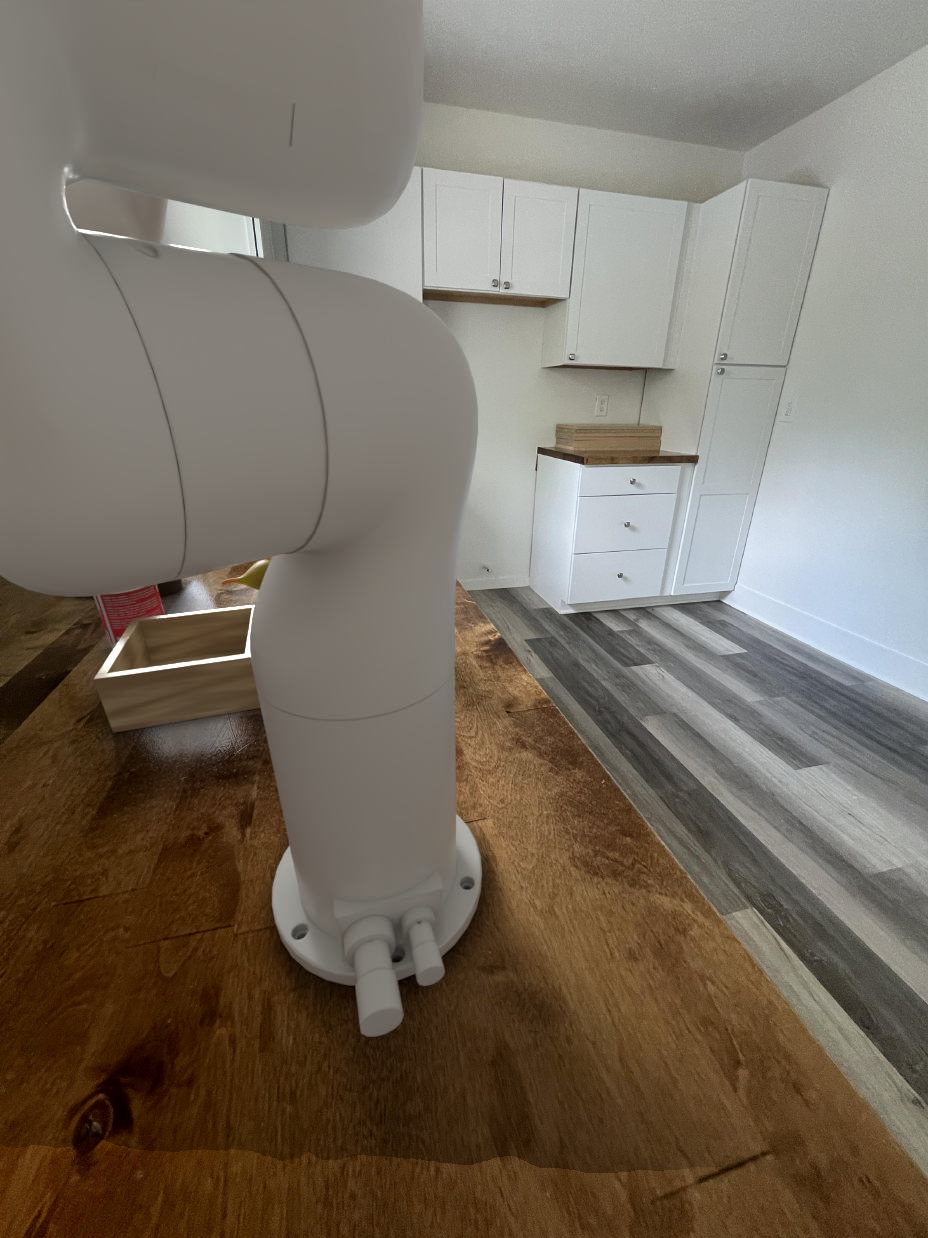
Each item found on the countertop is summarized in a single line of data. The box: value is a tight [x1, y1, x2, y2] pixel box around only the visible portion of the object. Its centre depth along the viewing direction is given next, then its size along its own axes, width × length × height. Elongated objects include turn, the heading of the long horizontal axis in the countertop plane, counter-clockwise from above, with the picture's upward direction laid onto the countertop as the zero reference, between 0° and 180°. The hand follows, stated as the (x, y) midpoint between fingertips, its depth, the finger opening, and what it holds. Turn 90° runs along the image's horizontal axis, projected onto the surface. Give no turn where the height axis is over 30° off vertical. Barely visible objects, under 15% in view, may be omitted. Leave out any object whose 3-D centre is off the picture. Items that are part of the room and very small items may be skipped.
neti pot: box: [221, 559, 271, 591], centre depth 70 cm, size 4×15×6 cm, turn 131°
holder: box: [92, 604, 261, 733], centre depth 50 cm, size 13×13×6 cm
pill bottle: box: [92, 584, 166, 650], centre depth 57 cm, size 6×6×11 cm
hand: (104, 523), depth 54 cm, fingers open, 9 cm apart
